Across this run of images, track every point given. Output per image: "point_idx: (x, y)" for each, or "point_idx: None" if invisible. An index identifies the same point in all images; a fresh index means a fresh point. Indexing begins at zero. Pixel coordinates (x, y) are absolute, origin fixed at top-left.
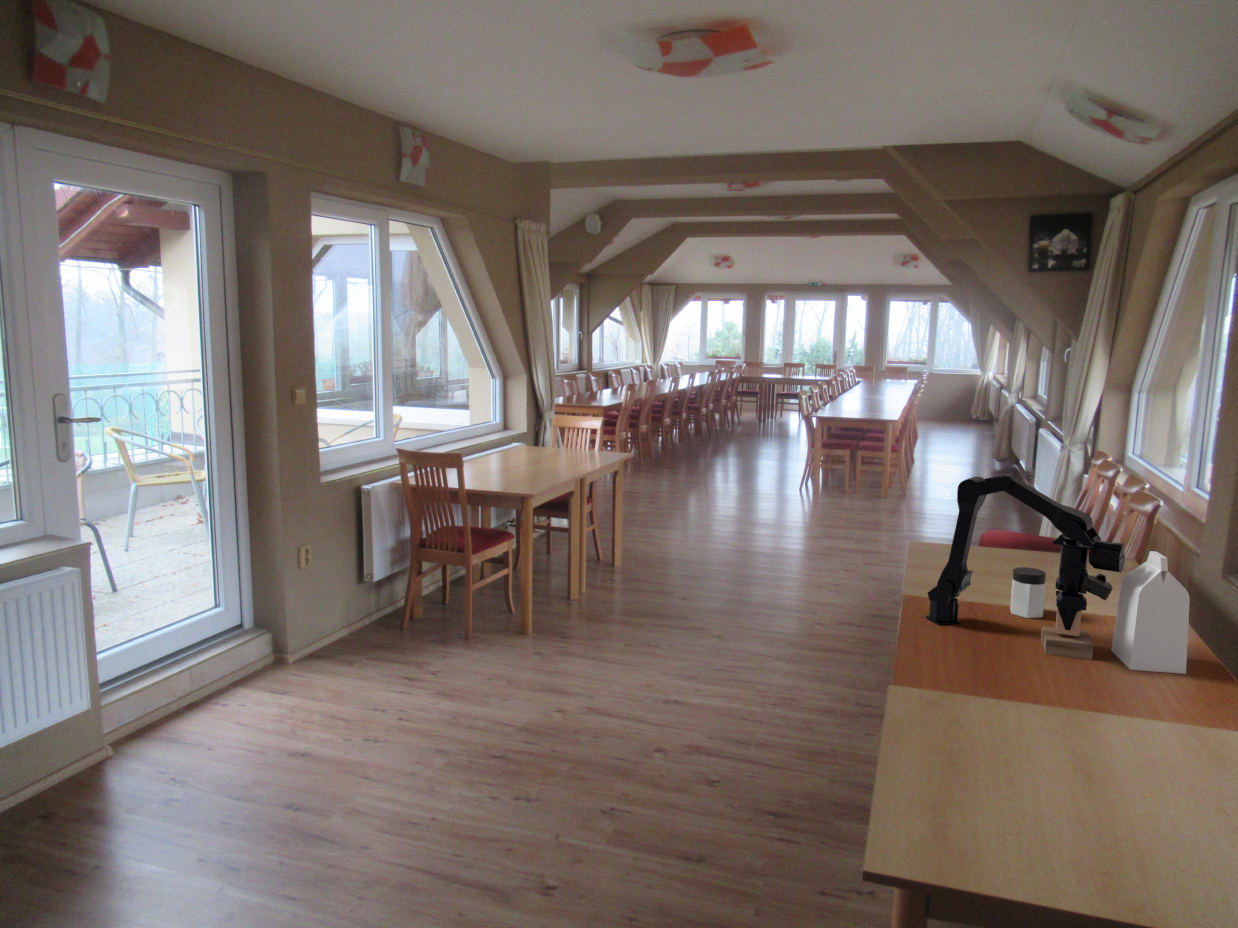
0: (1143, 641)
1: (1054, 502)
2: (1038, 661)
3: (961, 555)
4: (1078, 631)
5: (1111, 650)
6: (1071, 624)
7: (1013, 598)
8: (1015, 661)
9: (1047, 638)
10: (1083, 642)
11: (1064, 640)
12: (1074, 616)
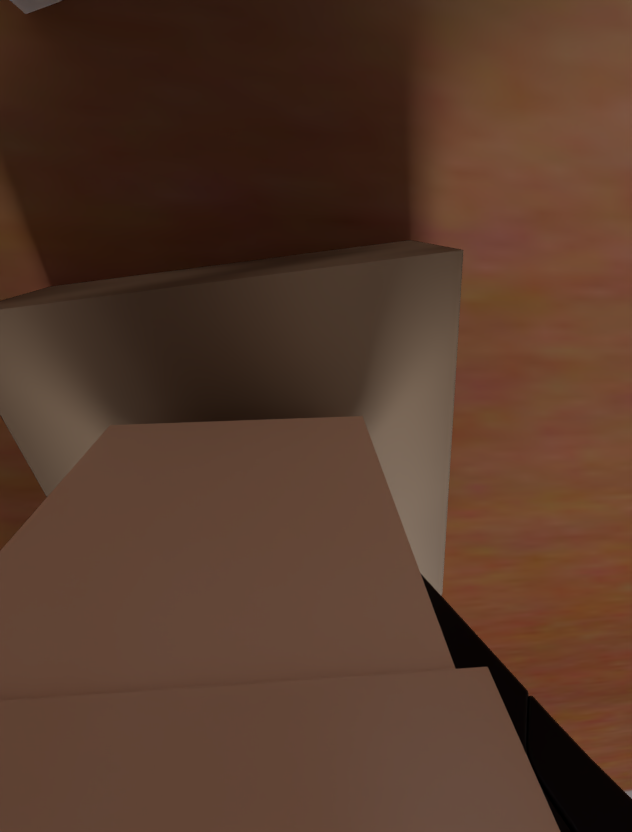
0: None
1: None
2: (546, 533)
3: None
4: (373, 457)
5: (34, 10)
6: (441, 603)
7: None
8: (567, 605)
9: None
10: (416, 355)
11: (422, 500)
12: (597, 772)
